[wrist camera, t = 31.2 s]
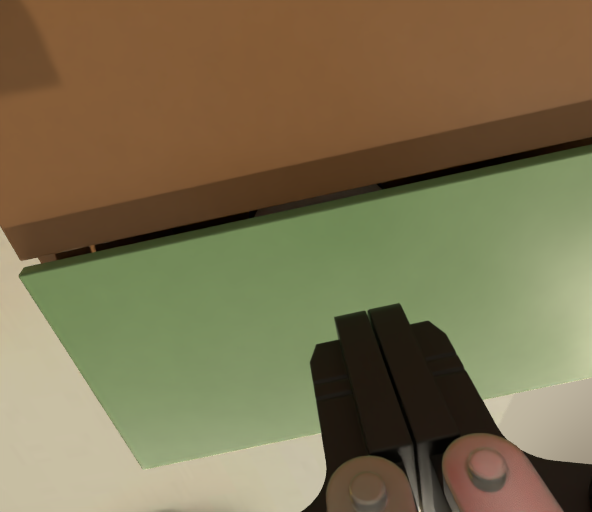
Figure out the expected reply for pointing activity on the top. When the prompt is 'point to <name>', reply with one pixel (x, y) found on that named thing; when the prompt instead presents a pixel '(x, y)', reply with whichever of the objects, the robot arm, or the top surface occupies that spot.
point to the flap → (327, 302)
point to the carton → (266, 105)
